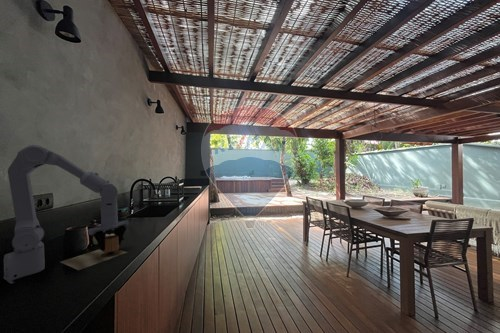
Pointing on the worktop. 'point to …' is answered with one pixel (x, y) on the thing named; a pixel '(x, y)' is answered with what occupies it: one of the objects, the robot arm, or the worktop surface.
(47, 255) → the worktop surface
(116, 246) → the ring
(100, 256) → the post board
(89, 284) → the worktop surface
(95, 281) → the worktop surface
